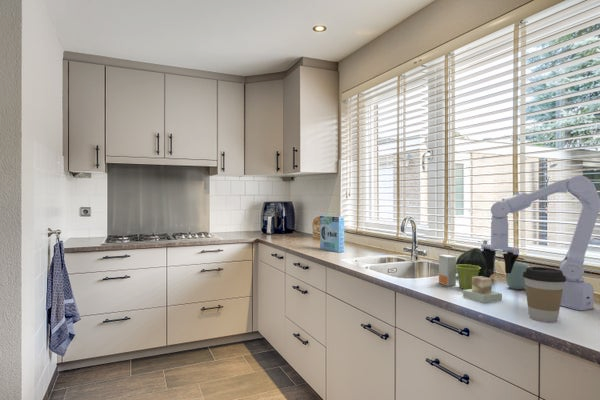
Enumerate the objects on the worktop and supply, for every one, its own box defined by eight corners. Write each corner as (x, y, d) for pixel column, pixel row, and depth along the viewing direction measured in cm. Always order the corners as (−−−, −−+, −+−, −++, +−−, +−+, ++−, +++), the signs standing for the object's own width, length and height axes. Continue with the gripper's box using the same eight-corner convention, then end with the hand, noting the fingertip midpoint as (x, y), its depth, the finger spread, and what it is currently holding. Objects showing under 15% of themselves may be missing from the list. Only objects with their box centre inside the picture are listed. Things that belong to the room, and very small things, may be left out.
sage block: (501, 301, 139) (501, 293, 139) (483, 304, 135) (483, 295, 135) (480, 295, 147) (480, 287, 147) (463, 298, 144) (463, 290, 143)
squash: (470, 262, 186) (460, 240, 179) (502, 268, 174) (492, 245, 167) (457, 284, 180) (446, 263, 173) (489, 293, 168) (478, 269, 161)
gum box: (344, 252, 251) (344, 216, 251) (338, 252, 248) (338, 216, 248) (325, 248, 267) (325, 215, 267) (319, 249, 264) (319, 215, 264)
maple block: (491, 292, 140) (491, 278, 140) (482, 293, 138) (482, 279, 138) (481, 289, 144) (481, 276, 144) (472, 290, 142) (472, 277, 142)
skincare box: (438, 282, 166) (438, 254, 165) (446, 282, 167) (447, 254, 167) (447, 286, 160) (447, 257, 160) (456, 285, 161) (456, 256, 161)
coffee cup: (548, 313, 124) (549, 266, 124) (575, 325, 113) (576, 273, 113) (513, 313, 124) (514, 266, 124) (536, 325, 113) (537, 273, 112)
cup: (503, 288, 157) (503, 263, 157) (508, 285, 163) (509, 261, 163) (524, 291, 152) (525, 266, 152) (529, 288, 157) (530, 263, 157)
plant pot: (481, 287, 159) (481, 265, 159) (479, 291, 151) (479, 269, 151) (457, 284, 164) (457, 263, 164) (453, 288, 156) (453, 267, 155)
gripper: (475, 233, 149) (475, 268, 149) (509, 236, 136) (509, 275, 136) (488, 232, 152) (488, 267, 152) (523, 236, 139) (522, 274, 139)
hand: (499, 271), depth 144 cm, fingers open, 7 cm apart
